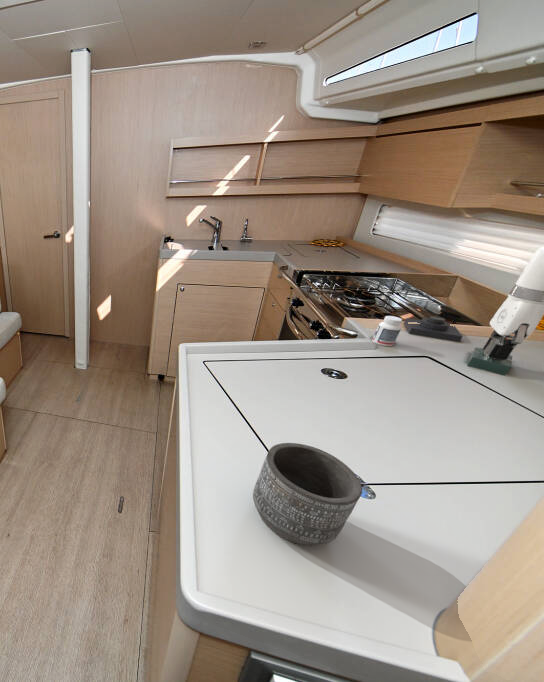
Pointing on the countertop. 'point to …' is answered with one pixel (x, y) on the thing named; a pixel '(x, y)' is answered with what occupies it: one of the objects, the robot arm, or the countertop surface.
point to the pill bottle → (387, 331)
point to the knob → (492, 346)
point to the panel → (489, 362)
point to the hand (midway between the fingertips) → (494, 353)
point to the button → (436, 320)
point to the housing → (433, 330)
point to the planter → (305, 493)
